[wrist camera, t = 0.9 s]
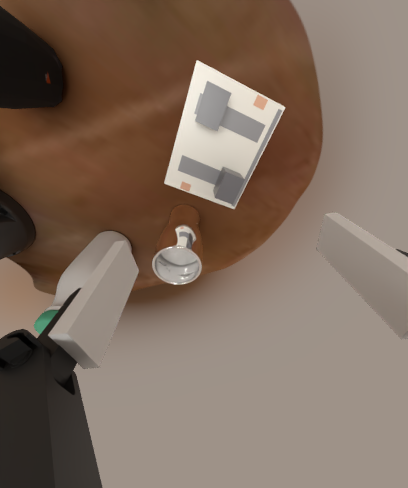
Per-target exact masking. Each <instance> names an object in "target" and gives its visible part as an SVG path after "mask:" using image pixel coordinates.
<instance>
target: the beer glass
mask: <svg viewBox="0 0 408 488" xmlns="http://www.w3.org/2000/svg"><path fill="white" fill-rule="evenodd" d="M169 220H170V223H169V224H168V225H167V226H166V228H165V229H164V230H163V232H162V233H161V235H160V237H159V240H158V242H157V245H156V249H155V253H154V258H153V261H152V267H153V270H154V272H155V274H156V275H157V276H158V277H159V278H160V279H161V280H163V281H165V282H167V283H170V284H178V285H180V284H187V283H189V282H192V281H193V280H195V279H196V278H197V277H198V276H199V274H200V272H201V269H202V258H203V243H202V238H201V235H200V232H199V229H198V226H199V223H200V216H199V213H198V211H197V210H196V209H195V208H194V207H192V206H189V205H179V206H177V207H175V208H174V209H173V210H172V211H171V213H170V217H169Z"/></svg>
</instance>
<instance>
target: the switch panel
mask: <svg viewBox="0 0 408 488" xmlns="http://www.w3.org/2000/svg"><path fill="white" fill-rule="evenodd" d="M207 81H209V82H211V83H213V84H215V85H217V86H219V87H221V88H223V89H225V90H226V91H228V92H230V93H231V96H230V98H229V101H228V104H227V107H226V110H225V112H224V115H223V118H222V121H221V123H220V126H219V129H218V131H215V130H213V129H211V128H209V127H207V126H204V125H202V124H200V123H198V122H196V121H195V119H196V116H197V113H198V109H199V106H200V103H201V99H202V96H203V93H204V89H205V86H206V82H207ZM284 109H285V107H284V106H282V105H280V104H278V103H276V102H275V101H273V100H271V99H269V98H267V97H265V96H263V95H261V94H260V93H258V92H256V91H254V90H252V89H250V88H248V87H246V86H245V85H243V84H241V83H239V82H237V81H235V80H233V79H232V78H230V77H228V76H226V75H224V74H222V73H220V72H218V71H217V70H215V69H213V68H211V67H209V66H207V65H205V64H203V63H202V62H200V61H198V60H197V62H196V65H195V69H194V73H193V77H192V80H191V84H190V88H189V92H188V95H187V99H186V103H185V107H184V111H183V114H182V118H181V122H180V126H179V129H178V133H177V137H176V141H175V145H174V148H173V152H172V156H171V160H170V163H169V167H168V171H167V175H166V179H165V182H164V184H167V185H170V186H172V187H175V188H178V189H180V190H183V191H186V192H189V193H191V194H194V195H197V196H199V197H202V198H205V199H207V200H210V201H213V202H215V203H218V204H221V205H224V206H226V207H229V208H232V209H235V207H236V205H237V203H238V201H239V199H240V197H241V195H242V193H243V191H244V189H245V187H246V185H247V183H248V181H249V179H250V177H251V175H252V173H253V171H254V169H255V167H256V165H257V163H258V161H259V159H260V157H261V155H262V153H263V151H264V149H265V147H266V145H267V143H268V141H269V139H270V137H271V135H272V133H273V131H274V129H275V127H276V125H277V123H278V121H279V119H280V117H281V115H282V113H283V111H284ZM222 167H226V168H228V169H230V170H233V171H235V172H238V173H240V174H241V175H242V177H243V178H244V179H245V181H244V183H243V185H242V187H241V189H240V191H239V193H238V195H237V197H236V199H235V201H234V203H233V205H232V204H230V203H227V202H224V201H222V200H219V199H216V198H215V197H214V192H213V189H214V187H215V184H216V182H217V180H218V177H219V175H220V172H221V170H222Z"/></svg>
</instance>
